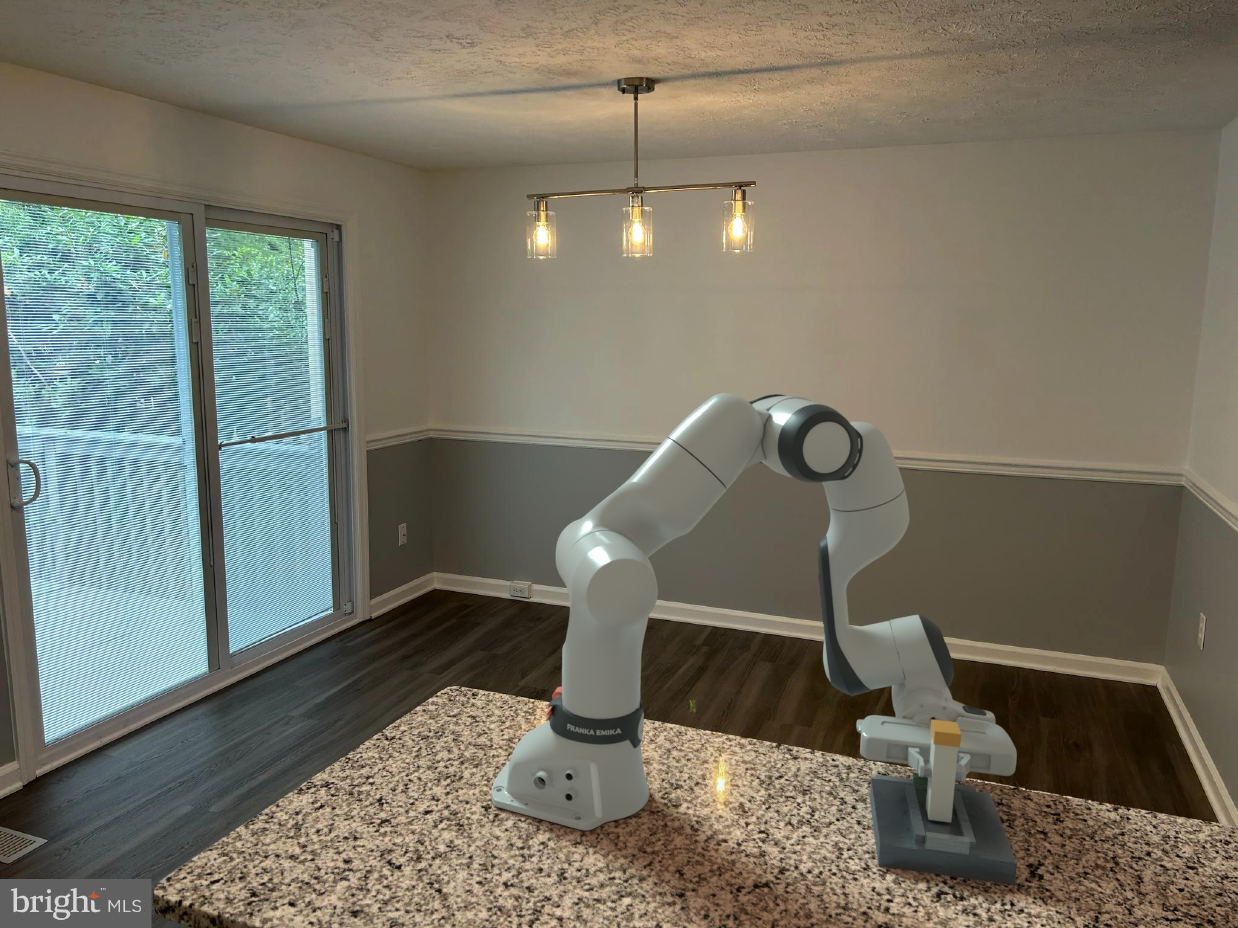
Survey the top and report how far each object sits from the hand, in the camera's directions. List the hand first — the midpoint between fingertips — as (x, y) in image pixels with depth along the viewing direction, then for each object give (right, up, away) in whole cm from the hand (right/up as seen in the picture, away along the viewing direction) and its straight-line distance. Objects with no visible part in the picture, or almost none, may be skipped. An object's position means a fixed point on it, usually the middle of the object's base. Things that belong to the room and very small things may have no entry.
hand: (943, 774), depth 113 cm
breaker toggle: (0, -6, +2) cm, 6 cm away
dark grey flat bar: (+2, -8, +12) cm, 15 cm away
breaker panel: (0, -9, +2) cm, 10 cm away
